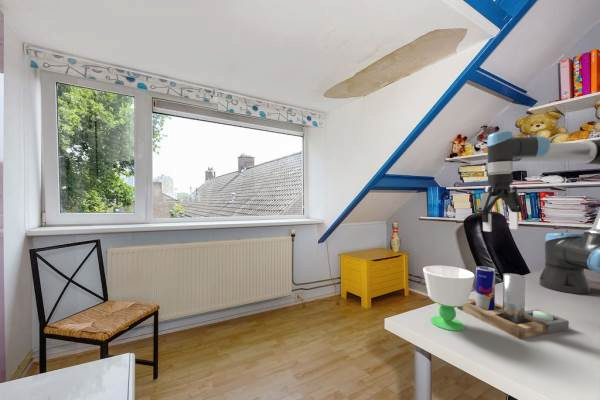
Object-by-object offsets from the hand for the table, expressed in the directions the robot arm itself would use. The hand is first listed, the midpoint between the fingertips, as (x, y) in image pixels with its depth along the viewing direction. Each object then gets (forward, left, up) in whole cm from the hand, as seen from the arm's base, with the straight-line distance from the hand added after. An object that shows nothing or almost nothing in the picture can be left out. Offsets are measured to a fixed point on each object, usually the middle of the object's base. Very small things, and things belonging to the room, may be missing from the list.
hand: (500, 230), depth 100 cm
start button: (+9, +20, -25) cm, 33 cm away
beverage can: (+18, +9, -26) cm, 33 cm away
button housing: (+9, +20, -26) cm, 33 cm away
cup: (+36, +12, -26) cm, 45 cm away
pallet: (+18, +14, -26) cm, 34 cm away
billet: (+18, +18, -26) cm, 36 cm away
